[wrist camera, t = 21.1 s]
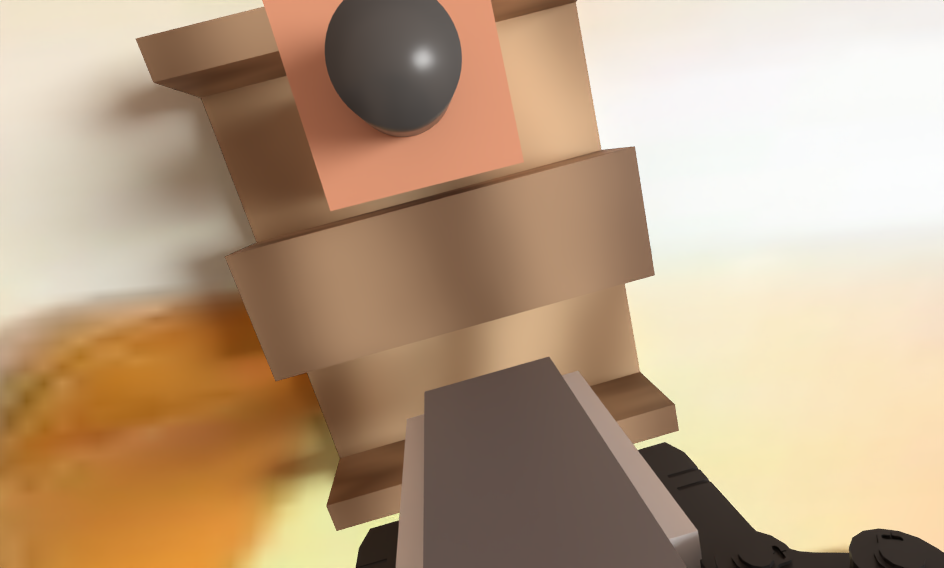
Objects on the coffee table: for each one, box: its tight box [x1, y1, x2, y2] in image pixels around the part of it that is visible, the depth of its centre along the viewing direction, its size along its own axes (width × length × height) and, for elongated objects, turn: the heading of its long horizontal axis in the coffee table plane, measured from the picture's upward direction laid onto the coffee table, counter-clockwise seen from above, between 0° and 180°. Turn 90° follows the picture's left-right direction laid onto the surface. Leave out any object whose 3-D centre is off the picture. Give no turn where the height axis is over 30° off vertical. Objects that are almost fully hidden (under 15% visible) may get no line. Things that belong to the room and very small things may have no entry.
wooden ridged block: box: [136, 0, 679, 531], centre depth 18 cm, size 14×19×4 cm
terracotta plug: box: [263, 0, 524, 211], centre depth 12 cm, size 4×4×11 cm
